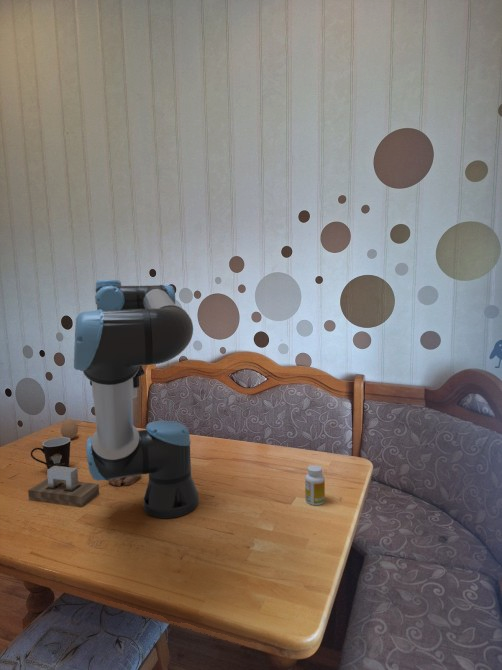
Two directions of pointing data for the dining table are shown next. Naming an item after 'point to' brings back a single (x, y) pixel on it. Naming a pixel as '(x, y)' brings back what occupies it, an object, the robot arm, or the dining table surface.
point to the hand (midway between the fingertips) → (115, 396)
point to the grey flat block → (64, 493)
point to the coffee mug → (55, 452)
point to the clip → (63, 477)
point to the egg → (69, 429)
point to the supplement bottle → (315, 486)
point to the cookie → (125, 481)
